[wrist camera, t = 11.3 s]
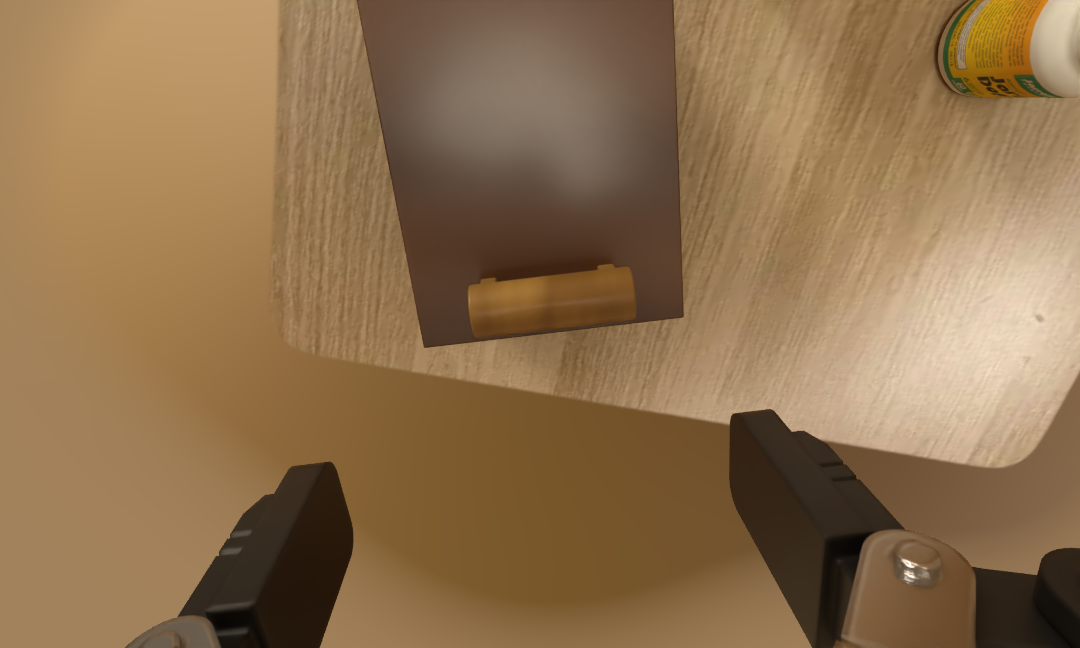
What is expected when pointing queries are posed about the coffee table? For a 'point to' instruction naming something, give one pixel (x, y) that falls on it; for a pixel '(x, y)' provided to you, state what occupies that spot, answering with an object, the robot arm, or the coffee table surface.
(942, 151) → the coffee table surface
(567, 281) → the lid
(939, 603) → the robot arm
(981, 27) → the supplement bottle
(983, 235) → the coffee table surface
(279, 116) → the coffee table surface
